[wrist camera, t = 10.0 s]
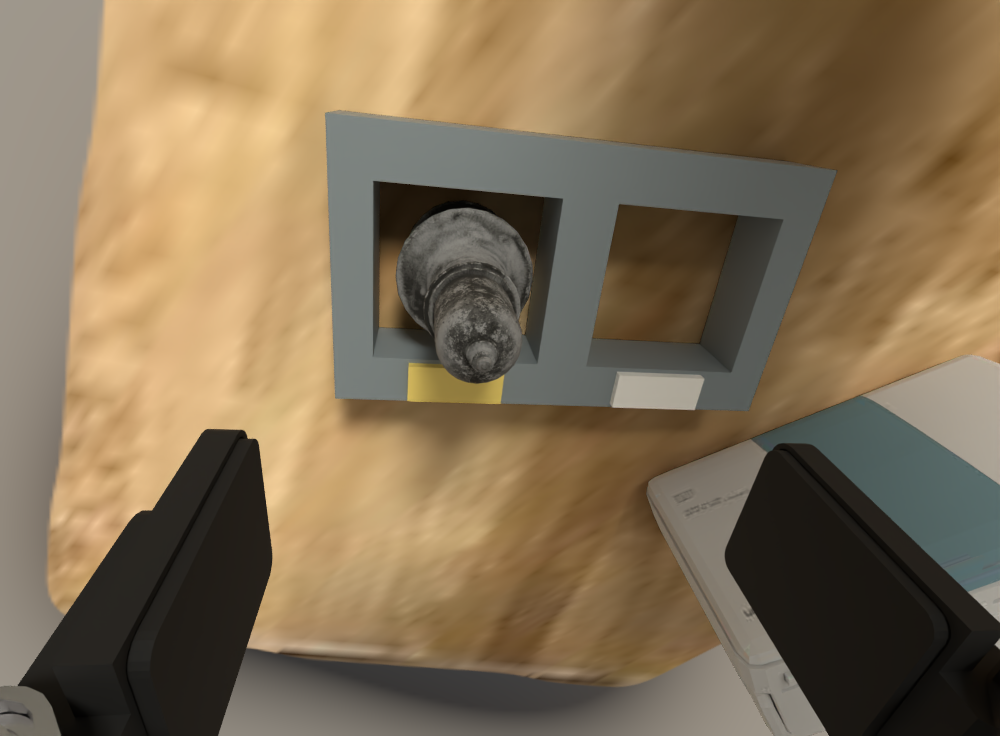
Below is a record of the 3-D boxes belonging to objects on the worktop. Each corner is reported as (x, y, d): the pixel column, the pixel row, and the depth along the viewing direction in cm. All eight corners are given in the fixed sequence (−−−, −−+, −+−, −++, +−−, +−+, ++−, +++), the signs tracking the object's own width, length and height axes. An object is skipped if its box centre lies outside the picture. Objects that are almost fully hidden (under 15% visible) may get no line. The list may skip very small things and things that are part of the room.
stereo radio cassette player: (959, 335, 32) (1623, 634, 14) (955, 436, 36) (1473, 772, 18) (632, 465, 33) (866, 883, 16) (662, 549, 37) (877, 961, 19)
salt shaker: (537, 216, 25) (617, 303, 15) (497, 325, 28) (541, 468, 17) (418, 175, 24) (411, 239, 13) (386, 294, 26) (359, 429, 16)
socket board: (339, 110, 22) (323, 113, 19) (787, 161, 26) (844, 171, 22) (345, 364, 28) (333, 402, 24) (716, 379, 31) (752, 415, 28)
